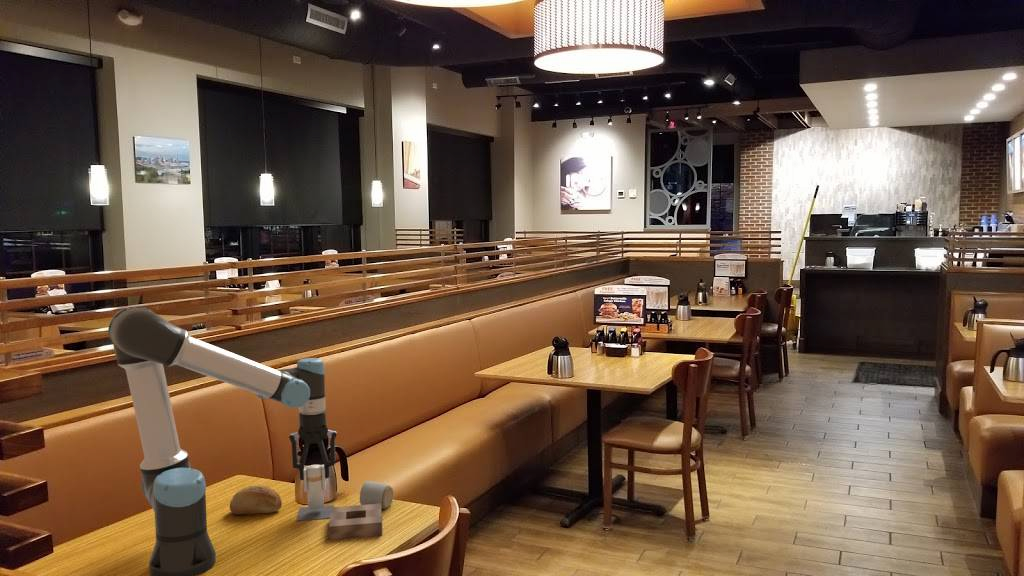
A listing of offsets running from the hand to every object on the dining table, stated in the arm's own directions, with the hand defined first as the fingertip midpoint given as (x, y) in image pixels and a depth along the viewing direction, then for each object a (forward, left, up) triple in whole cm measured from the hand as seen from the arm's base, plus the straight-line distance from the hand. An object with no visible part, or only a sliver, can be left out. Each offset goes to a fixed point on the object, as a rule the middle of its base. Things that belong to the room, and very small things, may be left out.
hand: (315, 489), depth 217 cm
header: (+12, -13, -7) cm, 19 cm away
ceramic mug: (+18, +3, -8) cm, 20 cm away
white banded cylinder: (0, 0, -5) cm, 5 cm away
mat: (0, 0, -7) cm, 7 cm away
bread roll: (-18, +5, -8) cm, 20 cm away
